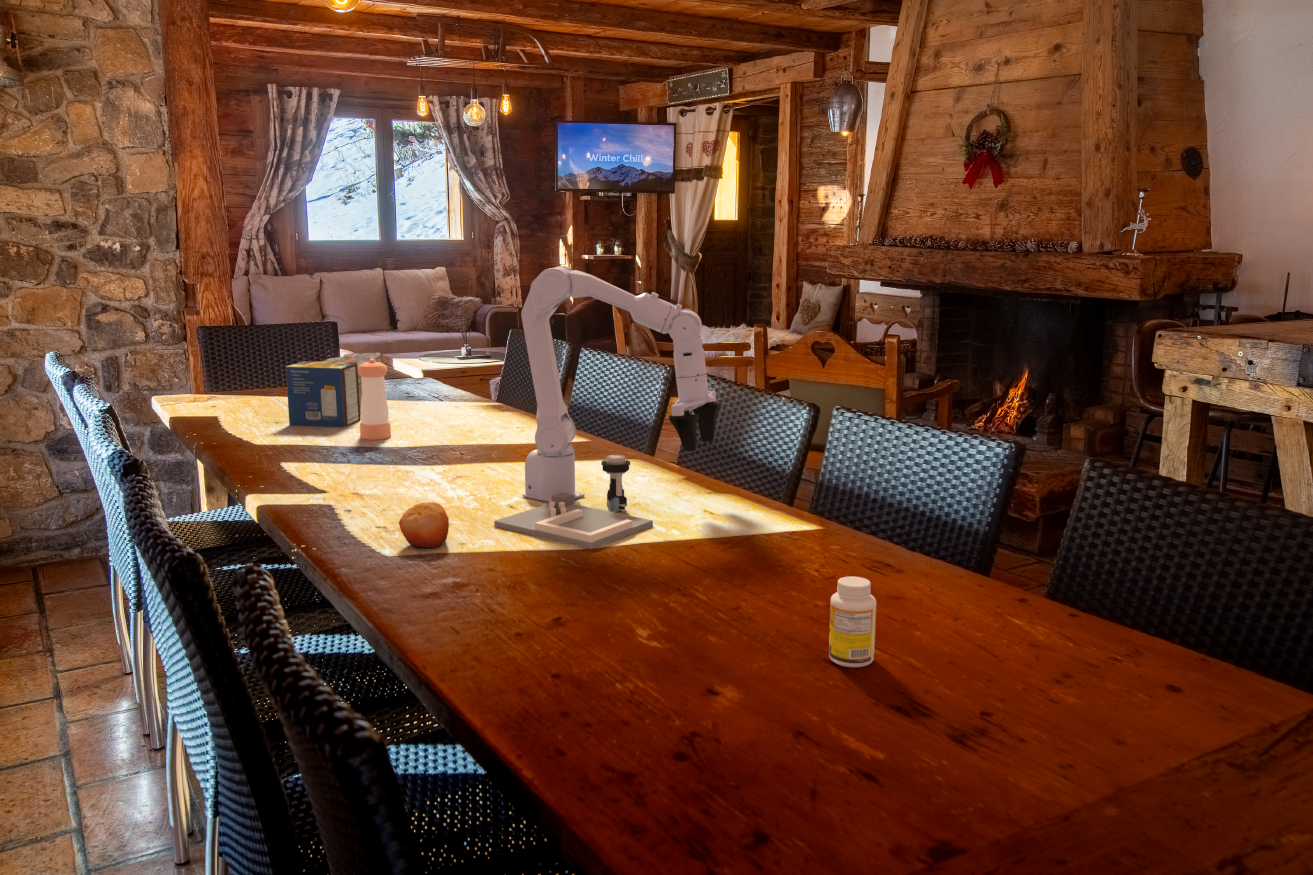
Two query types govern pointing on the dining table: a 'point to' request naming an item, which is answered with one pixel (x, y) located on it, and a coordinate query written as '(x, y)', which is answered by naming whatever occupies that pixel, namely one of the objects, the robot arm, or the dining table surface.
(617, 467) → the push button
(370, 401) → the salt shaker
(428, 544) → the fruit
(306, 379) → the protein box
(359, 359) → the petrified wood
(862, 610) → the supplement bottle
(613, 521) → the mat
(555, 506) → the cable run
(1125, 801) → the dining table surface
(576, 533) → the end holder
